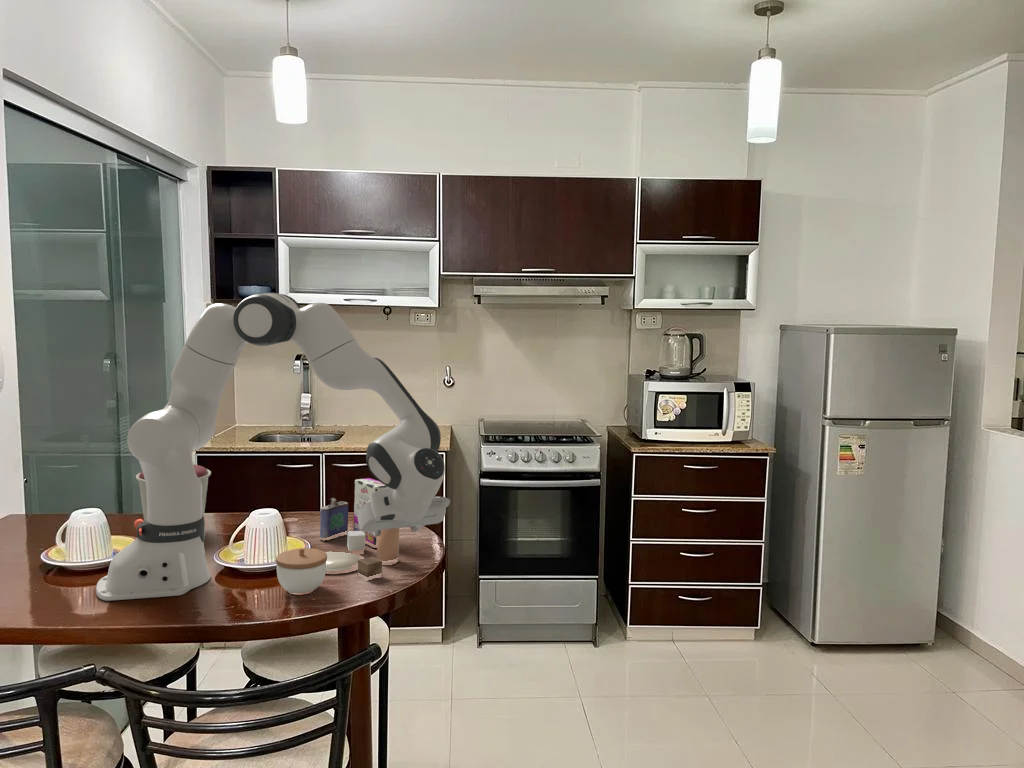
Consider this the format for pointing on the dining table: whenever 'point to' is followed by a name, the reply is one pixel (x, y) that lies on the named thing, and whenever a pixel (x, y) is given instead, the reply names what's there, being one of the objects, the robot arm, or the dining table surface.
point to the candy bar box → (361, 497)
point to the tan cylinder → (388, 544)
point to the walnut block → (369, 566)
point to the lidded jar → (301, 569)
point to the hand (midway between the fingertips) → (395, 531)
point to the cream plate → (340, 561)
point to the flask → (334, 518)
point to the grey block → (355, 540)
